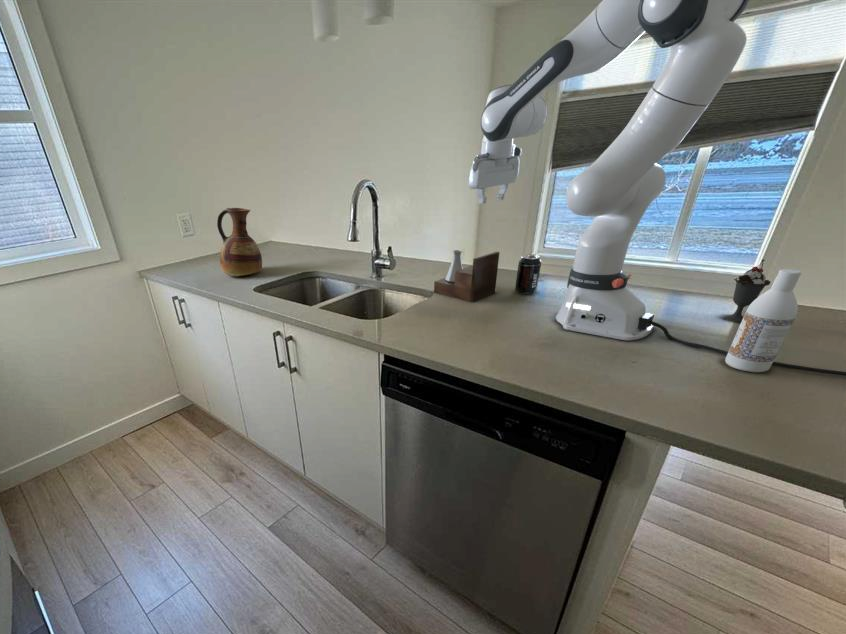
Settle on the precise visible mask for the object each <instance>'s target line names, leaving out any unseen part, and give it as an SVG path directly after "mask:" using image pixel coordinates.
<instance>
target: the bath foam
mask: <svg viewBox="0 0 846 634" xmlns="http://www.w3.org/2000/svg"><path fill="white" fill-rule="evenodd" d="M801 275H802V271H801V270H798V269H790V268H784V269H783V268H782V269H779V270H778V274H777V275H776V277H775V279H774V281H773V283H772V286H771V288H770V289H768V290H767V291H765V292H764V293H762V294H760V295H759V296H758V297H757V298H756V299H755V300H754V301H753V302H752V303H751V304H750V305H748V306H747V309H746V310H745V313H744V315H743V319H742V322H740V325H739V326H738V329H737V331H736V334H735V335H734V338H733V340H732V342H731V345H730V347H729V349H728V354H727V355H725V358H724V362H725V363H726V365H728V366H729V367H731V368H733V369H736V370H739V371H743V372H747V373H749V372H750V373H764V372H767V371H769V370H770V368H771V367H772V366H773V365H772V363H773V362H775V359H776V358H777V355H778V354H779V351H780V349H781V348H782V346H783V344H784V341H785V340H786V337H787V336H788V333H789V332H790V330H791V328H792V326H793V324H794V322H795V320H796V318H797V315H798V311H799V306H798V301H797V298H796V296H795V293H794V289H795V287H796V285H797V283H798V281H799V280H800V276H801Z"/></svg>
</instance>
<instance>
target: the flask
mask: <svg viewBox="0 0 846 634" xmlns="http://www.w3.org/2000/svg"><path fill="white" fill-rule="evenodd" d="M462 253H463V250H462V249H453V250H452V261H451V264H450V266H449V269H448V271H447V274H446V275H445V278H446V279H445V280H447V281H450V282H455V271H458V270H461V269H464V267H463V263H462Z"/></svg>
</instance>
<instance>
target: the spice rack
mask: <svg viewBox="0 0 846 634" xmlns="http://www.w3.org/2000/svg"><path fill="white" fill-rule="evenodd" d="M499 260H500V251H494V252H490V253H487V254H484V255H481V256H478V257H475V258H473V259H472V265H470V266H467V267H463V269H461V270H458V271H455V282H450V281H447V280H445V279H446V277H444V278H440V279H437V280H435V281H434V282H433V293H436V294H439V295H443V296H448V297H450V298H451V297H452V298H456V299H460V300H463V301H468V302H471V303H473V302H476V301H478V300H481V299H484V298H486V297H488V296H491V295H494V294H496V288H497V287H496V286H497V278H498V269H499V262H500V261H499Z"/></svg>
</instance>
